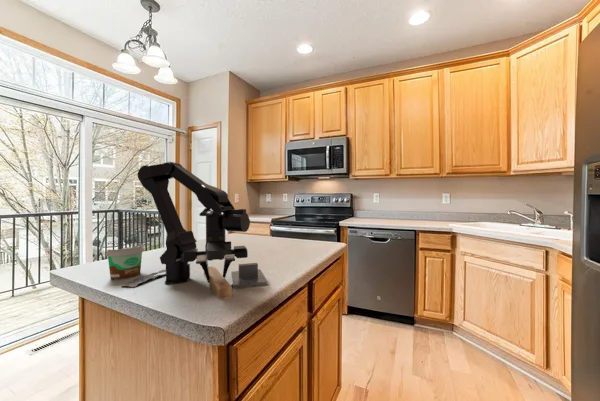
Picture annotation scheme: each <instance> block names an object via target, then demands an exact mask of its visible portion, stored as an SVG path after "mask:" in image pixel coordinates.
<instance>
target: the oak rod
mask: <svg viewBox="0 0 600 401" xmlns="http://www.w3.org/2000/svg"><path fill="white" fill-rule="evenodd" d="M208 268H209V276H210V281H209V282H208V281H207V282H208V285H209V286H210V288H211V289H212V291H213V292H214V294H215V296H216V298H217V299H218V300H222V299H228V298H232V297H233V287H232V286H233V285H231V284H230V282H229V281H228V280H226V277H225V278H224V277H223V274H222V273H221V272H220V271H219V270H218V269H217V267H216V266H215V265H212V266H208ZM203 275H204V277H205V279H206V280H207V278H206V275H205V273H204V272H203Z"/></svg>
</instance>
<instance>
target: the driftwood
mask: <svg viewBox="0 0 600 401" xmlns="http://www.w3.org/2000/svg"><path fill="white" fill-rule="evenodd" d="M159 276H166V268H165V269H161V270H160V271H157V272H151V273H149V274H147V275H143V276H142V277H137V278H136V279H133V280H131V281H129V282H128V283H127V284H125V285H123V286H121V288H123V287H124V288H125V287H131V288H136V287H137V286H138V285H139V284H142V283H145V282H147V281H148V280H150V279H152V280H153V281H154V280H155V278H157V277H159Z"/></svg>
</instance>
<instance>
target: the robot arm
mask: <svg viewBox="0 0 600 401" xmlns="http://www.w3.org/2000/svg"><path fill="white" fill-rule="evenodd" d="M137 179H138V180H139V182H140V184H141V186H142V187H143V188H144V189H145V190H147V192H148V193H149V194H150V195H151V196H152V198H153V201H154V202H153V203H154V204H155V206H156V209H157V212H158V213H159V217H160V219H161V222H162V225H163V226H164V229H165V231H166V238H165V247H166V250H165V251H164V252H163V253H162V254H161V255H160V257H159V259H160V263H161V264H162V265H165V269H166V272H165V274H166V275H165V281H164V284H166V285H168V284H179V283H187V282H188V281H189V279H190V278H191V264H190V263H191V262H193V263H194V262H195V264H197V265H200V267H201V268H202V270H203V274H204V273H205V275H206V278H207V279H206V278H205V279H206V281H207V282H209V281H210V276H209V268H208V267H209V263H208V261H210V262H211V261H214V260H219V261H222V260H223V269H222V276H223V277H224V278H225V279H226V276H227V272H228V270H229V267H230V265H231V263H232V262H235V261H236V259H246V258H248V256H249V255H248V248H247V247H246V245H234V246H233V248H232V241H231V240H230V241H226V232H238V233H246V232H247V231H249V228H250V226H251V220H250V217H249V215H248V213H247V208H240V209H239V208H238V209H236V208H235V207H234V205H233V204H232V202H231V201H230V199H229V195H228V193H227V192H226V191H224V190H223V189H221V188H219V187H216V186H214V185H210V184H208V183H206V182H204V181H203V180H202V179H200V178H199V177H198V176H197V175H195V174H194V173H192V172H191V171H189V170H188V169H187V168H185V167H184V166H183V165H182V164H180V163H179V162H174V161H167V162H164V163H159V164H153V165H142V166H141V167H140V168H139V170H138V172H137ZM172 179H174V180H176V181H178V182H179V183H180V184H181V185H183V186H184V187H186V188H187V189H188V190H189V191H191V193H193V194H194V195H195V196H196V197H197V200H198V202H200V204H201V205H202V206H204V209H203V210H202V211H201V212H200V213H199V214H198V215H199V216H200V217H205V250H202V251H201V250H200V251H199V250H198V248H197V242H198V240H197V239H196V237H195V236H194V232H193V231H192V230H186V229H185V227H183V224H182V222H181V219H180V217H179V215H178V212H177V210H176V207H175V204H174V202H173V199H172V196H171V195H170V192H169V189H168V188H169V183H170V180H172Z"/></svg>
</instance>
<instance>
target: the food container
mask: <svg viewBox="0 0 600 401" xmlns="http://www.w3.org/2000/svg"><path fill="white" fill-rule="evenodd" d="M144 251H145V248H144V245H143V244H142V243H137V245H135V246H132V247H122V248H119V249H107V250H106V253H105V257H107V259H108V260H107V261H108V269H109V278H110V280H125V279H130V278H135V277H137V276H139V275H140V274H141V271H142V270H141V268H142V258H143V257H142V255H143V252H144Z"/></svg>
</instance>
